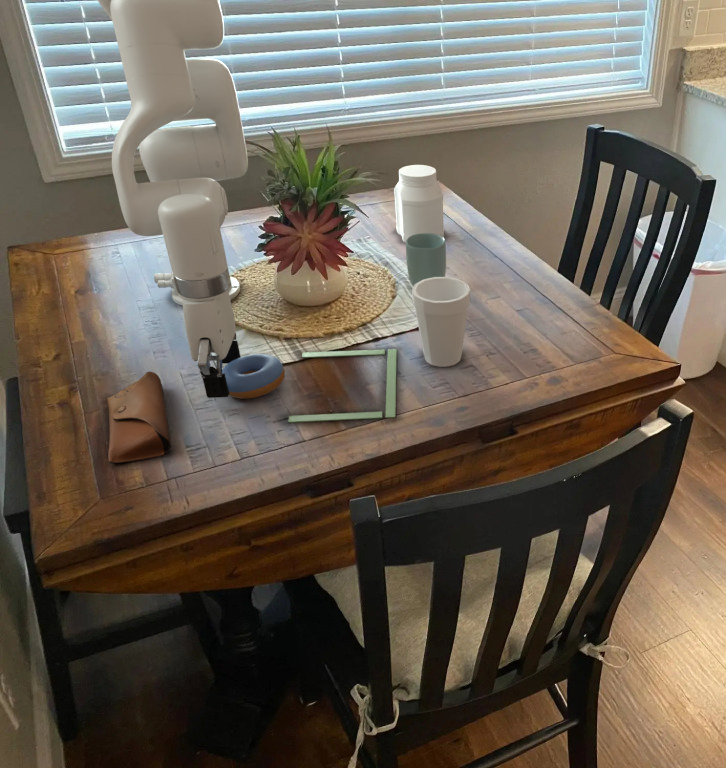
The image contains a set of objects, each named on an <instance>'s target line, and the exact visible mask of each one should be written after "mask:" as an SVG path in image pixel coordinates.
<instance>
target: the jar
mask: <svg viewBox="0 0 726 768" xmlns="http://www.w3.org/2000/svg"><path fill="white" fill-rule="evenodd" d="M393 194H394V204H395V205H394V206H395V221H396V223H395V224H396V226H395V227H396V229H395V230H396V233H397V234H398V235H400V236H401V238H402V241H403V243H404V244H406V240H407V239H408V238H409V237H410V236H412V235H415V234H421V233H431V234H437V235H440V236H442V237H444V238H445V230H444V228H445V227H444V226H445V225H444V224H445V223H444V192H443V189H442V187H441V185H440V183H439V182H438V179H437V169H436V168H435V167H433V166H430V165H426V164H412V165H410V164H409V165H406V166H402V167H401V168H399V170H398V182H397V184H396V185H395V186H394V188H393Z"/></svg>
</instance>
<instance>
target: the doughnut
mask: <svg viewBox="0 0 726 768" xmlns="http://www.w3.org/2000/svg"><path fill="white" fill-rule="evenodd" d="M224 373H225V377H226V381H227V386H228V390H229V396H230V397H231V398H236V399H240V400H241V399H254V398H258V397H262V396H265V395H268V394H270V393H271V392H273V391H275V390H276V389H277V388H279V387H280V385H282V383H283V381H284V380H285V376H286V375H285V373H286V372H285V367H284V364H283V363H282V361H281V360H280V359H279V358H278V357H276V356H274V355H272V354H267V353H252V354H247V355H246V354H245V355H243V356H241V357H240V358H238V359H235V360H233V361H231V362H230V363H228V364H225V366H223V367H222V374H224Z"/></svg>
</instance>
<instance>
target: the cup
mask: <svg viewBox="0 0 726 768" xmlns="http://www.w3.org/2000/svg"><path fill="white" fill-rule="evenodd" d="M405 256H406V257H405V258H406V259H405V260H406V269H407V274H408V276H407V277H408V279H409V281H410V284H411V285H412V286H413V287H414V285H415V284H416V283H418V282H420V281H421V280H424V279H428V278H432V277H446V273H447V243H446V239H445V236H444V237H442V236H440V235H437V234H431V233H421V234H415V235H412V236H410V237H409V238H408V239H407V240H406V243H405ZM413 287H412V288H413Z"/></svg>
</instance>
